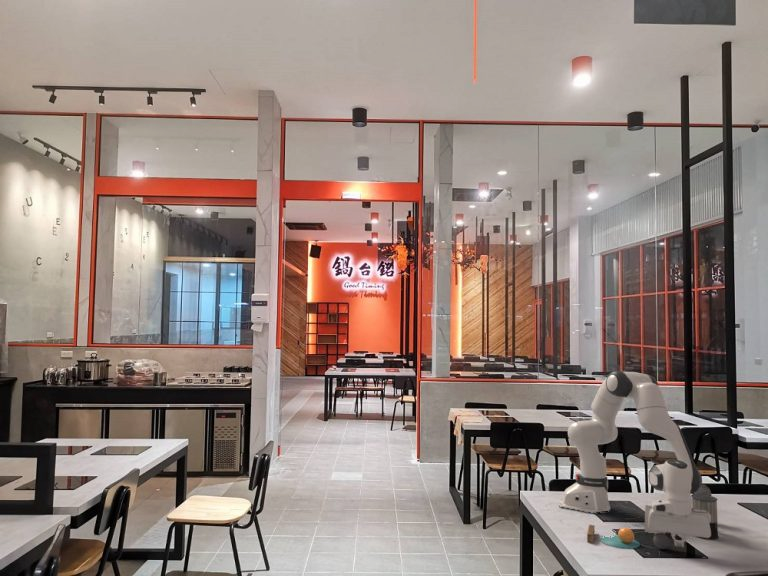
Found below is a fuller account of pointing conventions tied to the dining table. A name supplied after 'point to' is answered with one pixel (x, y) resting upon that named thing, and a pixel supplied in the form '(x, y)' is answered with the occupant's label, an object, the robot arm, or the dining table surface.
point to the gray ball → (661, 540)
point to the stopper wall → (590, 533)
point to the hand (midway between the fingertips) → (679, 546)
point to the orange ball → (626, 535)
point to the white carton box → (647, 510)
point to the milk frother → (710, 506)
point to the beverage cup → (703, 490)
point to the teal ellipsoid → (619, 542)
